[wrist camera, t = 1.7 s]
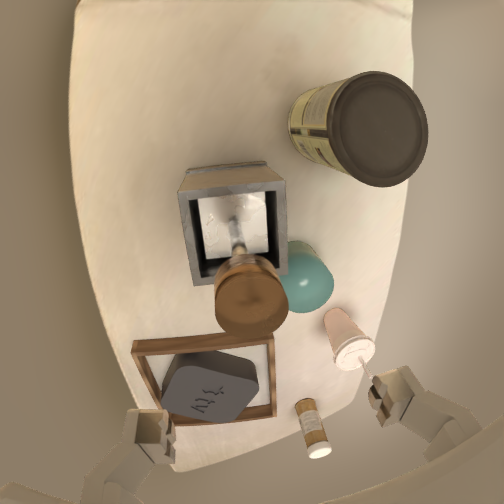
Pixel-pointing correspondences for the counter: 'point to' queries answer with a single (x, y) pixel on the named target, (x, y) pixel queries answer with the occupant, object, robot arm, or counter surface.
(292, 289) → the teal pillar candle
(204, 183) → the square gray utensil holder
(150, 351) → the wooden square frame
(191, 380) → the streaming box
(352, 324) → the smoothie
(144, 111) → the counter surface
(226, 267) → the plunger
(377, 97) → the coffee can
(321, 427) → the sprinkles bottle
